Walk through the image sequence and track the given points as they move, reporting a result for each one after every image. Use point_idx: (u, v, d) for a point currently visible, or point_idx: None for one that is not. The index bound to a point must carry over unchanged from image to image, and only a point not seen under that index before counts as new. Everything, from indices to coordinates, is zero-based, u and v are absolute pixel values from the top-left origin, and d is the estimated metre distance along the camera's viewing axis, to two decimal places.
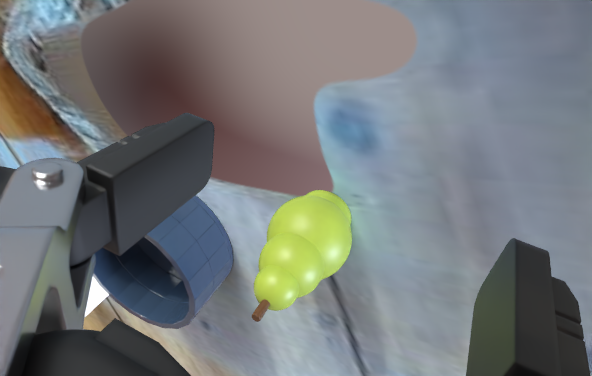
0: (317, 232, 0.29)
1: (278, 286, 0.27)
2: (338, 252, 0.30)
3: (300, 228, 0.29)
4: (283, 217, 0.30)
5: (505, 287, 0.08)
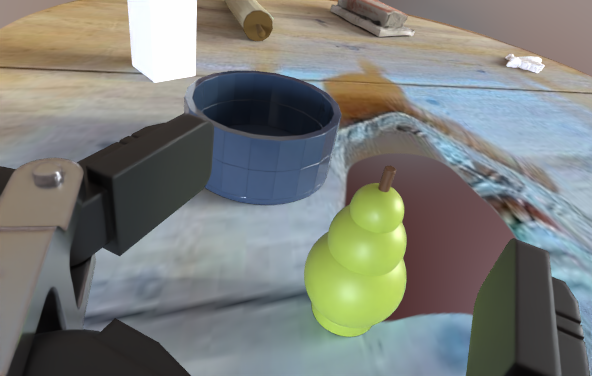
0: (401, 277, 0.25)
1: (401, 208, 0.23)
2: (375, 297, 0.24)
3: (402, 261, 0.26)
4: None
5: (505, 287, 0.08)
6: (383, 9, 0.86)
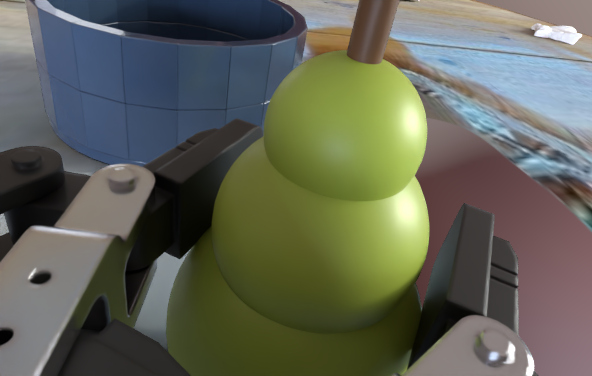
0: (411, 334, 0.09)
1: (420, 120, 0.07)
2: None
3: (414, 287, 0.10)
4: None
5: (452, 245, 0.09)
6: None
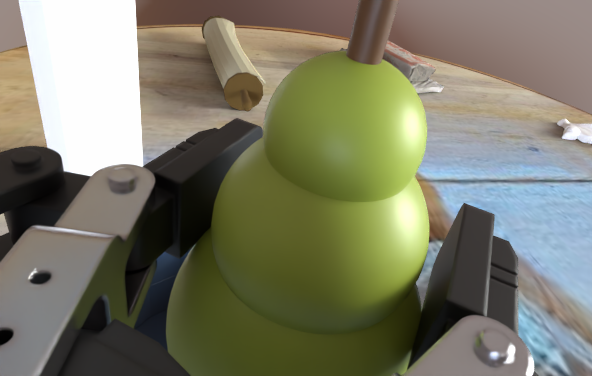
0: (411, 335, 0.09)
1: (420, 120, 0.07)
2: None
3: (414, 287, 0.10)
4: None
5: (452, 245, 0.09)
6: (405, 61, 0.68)
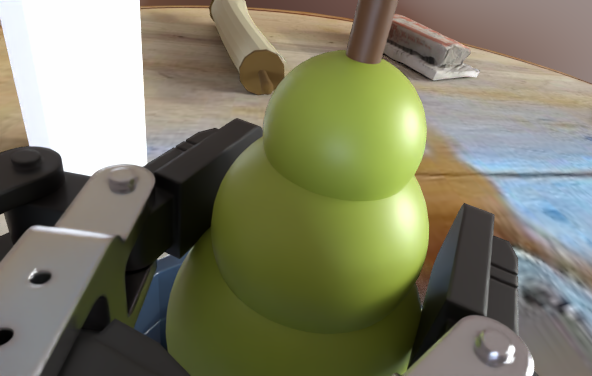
0: (410, 334, 0.09)
1: (420, 119, 0.07)
2: None
3: (413, 287, 0.10)
4: None
5: (452, 244, 0.09)
6: (439, 41, 0.61)
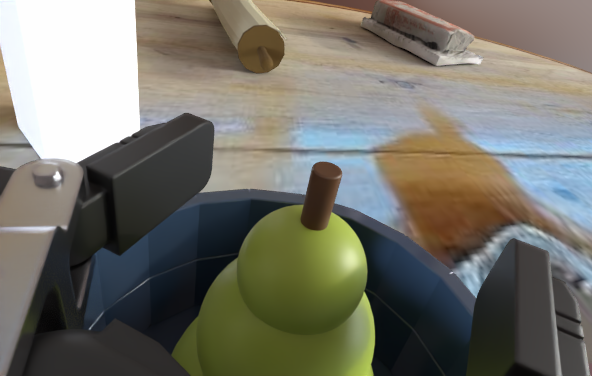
0: None
1: (358, 272, 0.09)
2: None
3: None
4: None
5: (505, 287, 0.08)
6: (442, 26, 0.59)
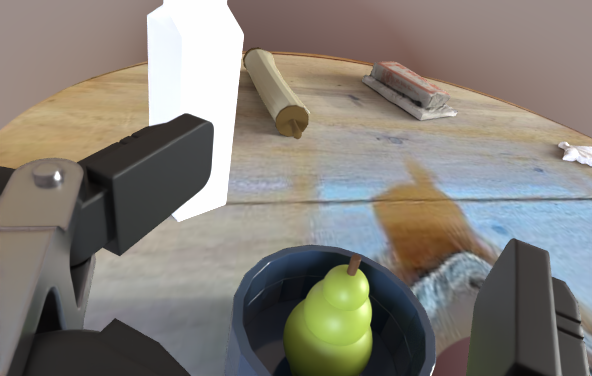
0: (366, 345, 0.29)
1: (366, 289, 0.27)
2: (342, 365, 0.27)
3: (368, 329, 0.29)
4: None
5: (505, 287, 0.08)
6: (425, 89, 0.77)
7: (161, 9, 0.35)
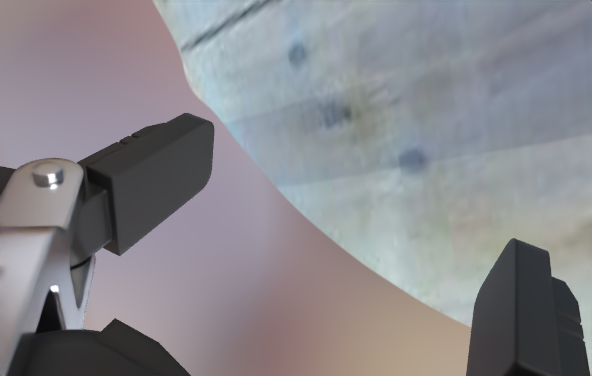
0: None
1: None
2: None
3: None
4: None
5: (505, 287, 0.08)
6: None
7: None
